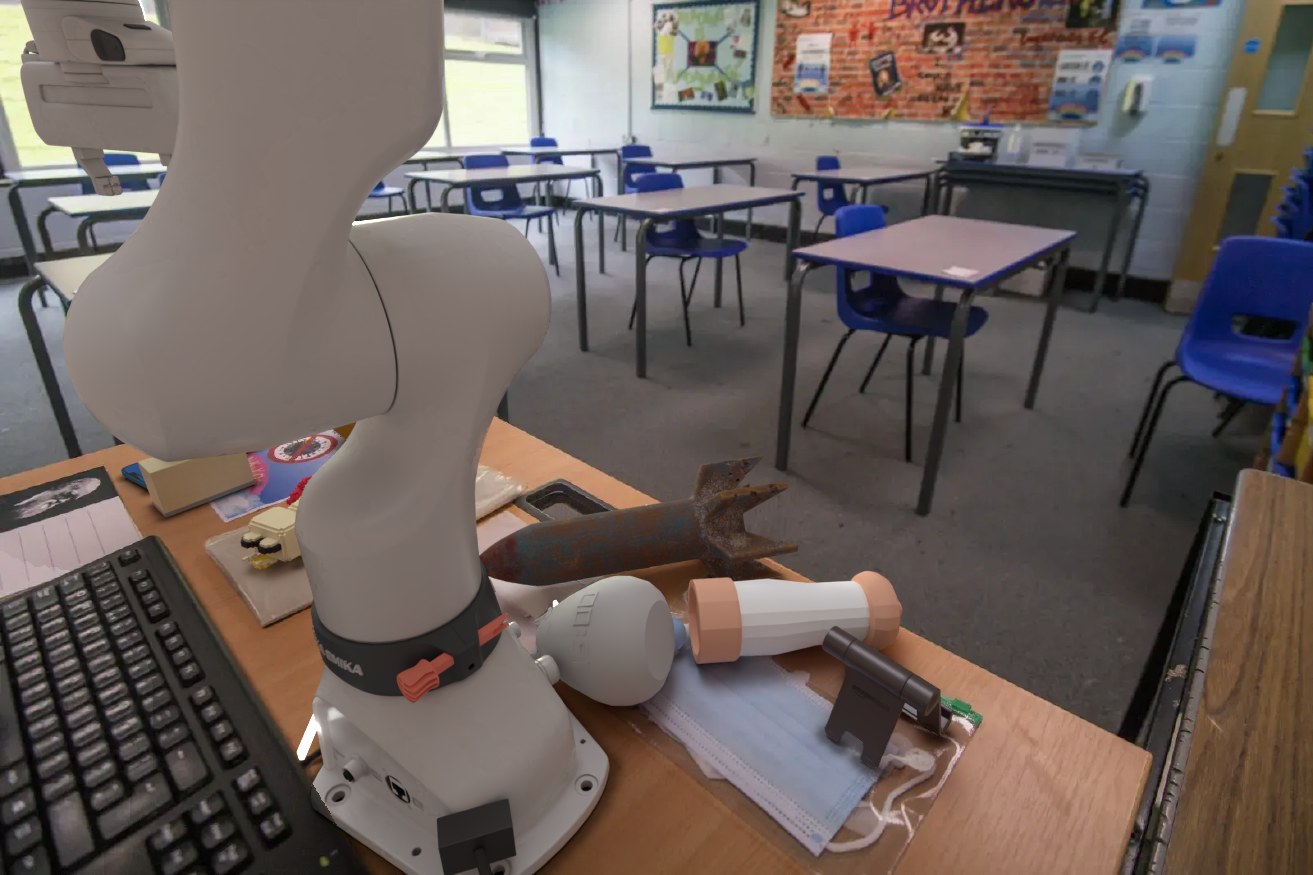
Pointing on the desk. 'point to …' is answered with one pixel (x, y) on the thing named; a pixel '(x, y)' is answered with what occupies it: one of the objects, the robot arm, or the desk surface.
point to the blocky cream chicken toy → (274, 532)
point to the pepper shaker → (787, 615)
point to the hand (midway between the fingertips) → (144, 198)
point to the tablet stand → (878, 697)
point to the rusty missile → (648, 536)
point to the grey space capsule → (610, 640)
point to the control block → (194, 480)
